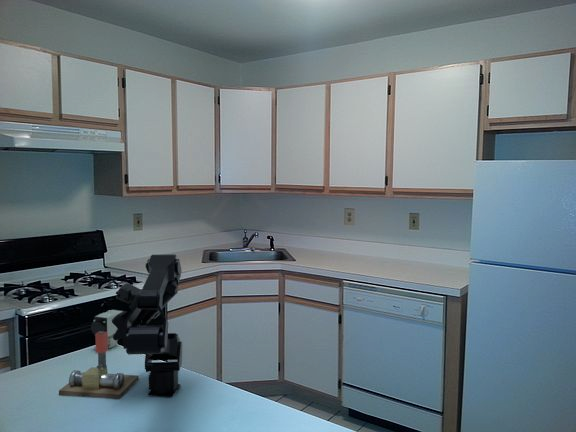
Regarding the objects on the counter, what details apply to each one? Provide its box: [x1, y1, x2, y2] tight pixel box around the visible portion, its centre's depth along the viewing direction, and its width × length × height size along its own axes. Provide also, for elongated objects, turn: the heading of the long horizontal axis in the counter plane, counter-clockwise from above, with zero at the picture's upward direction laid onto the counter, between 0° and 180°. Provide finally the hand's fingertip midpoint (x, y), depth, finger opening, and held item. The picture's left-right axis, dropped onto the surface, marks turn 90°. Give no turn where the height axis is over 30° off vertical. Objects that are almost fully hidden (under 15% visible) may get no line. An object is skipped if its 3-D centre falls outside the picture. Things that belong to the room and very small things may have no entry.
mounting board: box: [58, 371, 140, 400], centre depth 118 cm, size 16×11×1 cm
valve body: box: [68, 366, 125, 390], centre depth 116 cm, size 13×4×4 cm, turn 84°
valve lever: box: [94, 331, 109, 369], centre depth 119 cm, size 2×2×11 cm
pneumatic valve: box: [90, 309, 124, 349], centre depth 147 cm, size 6×12×12 cm, turn 161°
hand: (117, 336), depth 119 cm, fingers open, 4 cm apart
